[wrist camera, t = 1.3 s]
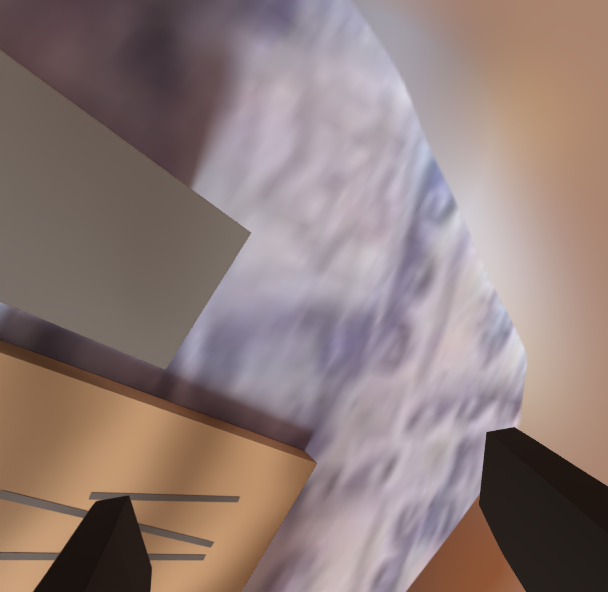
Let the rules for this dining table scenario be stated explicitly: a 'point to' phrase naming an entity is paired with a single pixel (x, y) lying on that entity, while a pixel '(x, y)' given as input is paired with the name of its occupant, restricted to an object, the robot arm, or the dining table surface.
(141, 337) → the block
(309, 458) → the oak board
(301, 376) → the dining table surface
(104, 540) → the robot arm
